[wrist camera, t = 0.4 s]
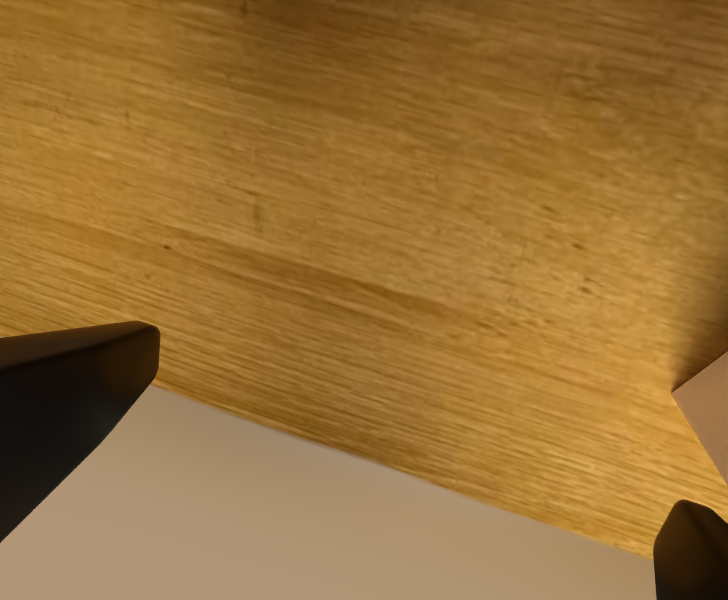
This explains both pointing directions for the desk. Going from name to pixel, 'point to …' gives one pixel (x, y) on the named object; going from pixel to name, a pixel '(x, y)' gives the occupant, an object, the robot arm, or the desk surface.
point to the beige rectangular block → (708, 410)
